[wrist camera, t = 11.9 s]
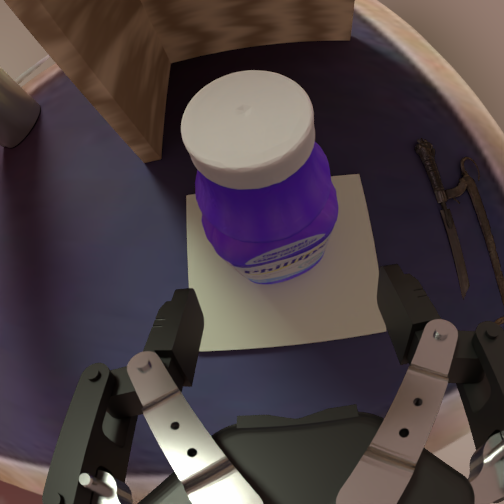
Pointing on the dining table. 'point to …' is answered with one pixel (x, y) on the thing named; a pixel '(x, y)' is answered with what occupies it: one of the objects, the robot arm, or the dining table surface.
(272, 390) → the dining table surface
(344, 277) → the mat
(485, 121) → the dining table surface
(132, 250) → the dining table surface
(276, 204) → the bottle
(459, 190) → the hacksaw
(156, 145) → the wooden slatted crate
